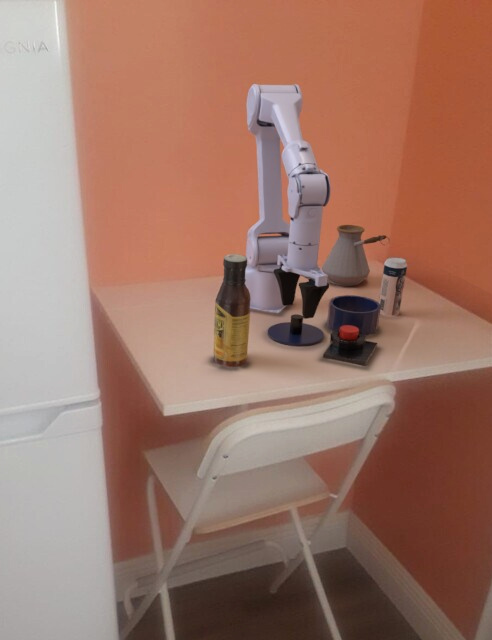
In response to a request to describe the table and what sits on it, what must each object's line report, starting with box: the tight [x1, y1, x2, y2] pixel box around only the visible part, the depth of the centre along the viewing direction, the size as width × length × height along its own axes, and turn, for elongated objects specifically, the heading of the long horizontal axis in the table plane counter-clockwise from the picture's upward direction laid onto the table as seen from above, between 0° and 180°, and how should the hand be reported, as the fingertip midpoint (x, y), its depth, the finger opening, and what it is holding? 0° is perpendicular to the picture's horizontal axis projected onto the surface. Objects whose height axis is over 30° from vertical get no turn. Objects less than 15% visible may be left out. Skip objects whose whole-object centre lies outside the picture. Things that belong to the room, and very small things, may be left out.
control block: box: [322, 329, 379, 367], centre depth 133 cm, size 10×8×3 cm
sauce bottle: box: [213, 253, 251, 368], centre depth 124 cm, size 7×6×20 cm
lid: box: [267, 313, 325, 347], centre depth 139 cm, size 11×11×4 cm
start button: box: [339, 325, 359, 340], centre depth 134 cm, size 4×4×2 cm
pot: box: [326, 294, 381, 336], centre depth 144 cm, size 10×10×5 cm
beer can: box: [378, 256, 408, 317], centre depth 150 cm, size 5×5×12 cm
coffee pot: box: [321, 224, 391, 287], centre depth 164 cm, size 21×12×15 cm, turn 19°
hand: (297, 311), depth 137 cm, fingers open, 7 cm apart
